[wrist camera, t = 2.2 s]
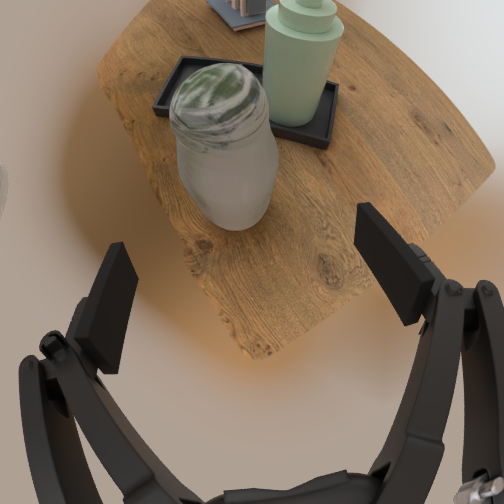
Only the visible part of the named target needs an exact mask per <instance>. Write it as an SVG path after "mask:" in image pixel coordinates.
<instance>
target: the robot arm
mask: <svg viewBox="0 0 504 504" xmlns="http://www.w3.org/2000/svg"><path fill="white" fill-rule="evenodd" d="M354 245H355V247H356V248H357V250H358V251H359V253H360V254H361V256H362V257H363V259H364V260H365V262H366V263H367V265H368V267H369V268H370V270H371V271H372V273H373V274H374V276H375V278H376V279H377V281H378V282H379V284H380V285H381V287H382V289H383V290H384V292H385V293H386V295H387V297H388V298H389V300H390V302H391V303H392V305H393V307H394V309H395V310H396V312H397V314H398V315H399V317H400V319H401V321H402V323H403V324H404V326H408V325H411V324H414V323H417V322H418V321H419V318H420V316H421V314H422V315H423V316H424V318H425V321H424V324H423V326H422V328H421V330H420V332H419V334H420V335H421V336H420V340H419V344H418V348H417V352H416V356H415V360H414V363H413V367H412V370H411V373H410V377H409V380H408V383H407V386H406V389H405V393H404V395H403V398H402V401H401V404H400V407H399V409H398V412H397V415H396V418H395V420H394V423H393V425H392V428H391V430H390V432H389V435H388V437H387V439H386V442H385V444H384V447H383V448H382V450H381V452H380V454H379V455H378V457H377V458H376V460H375V461H374V463H373V465H372V467H371V468H370V471H369V472H368V474H367V475H366V474H361V473H347V470H343V471H339V472H335V473H332V474H328V475H324V476H320V477H316V478H314V479H312V480H310V481H308V482H306V483H303V484H302V485H299V486H297V487H294V488H292V489H290V490H269V489H257V488H250V489H239V490H226V491H224V494H223V495H219V496H217V497H215V498H213V499H211V500H209V501H207V502H206V503H205V502H203V501H202V500H201V499H200V498H199V497H198V496H197V495H196V494H195V493H193V492H192V491H191V490H189V489H188V488H187V487H185V486H184V485H183V484H182V483H181V482H180V481H179V480H178V479H177V478H176V477H175V476H174V475H173V474H172V473H171V472H170V471H169V469H168V468H167V467H166V466H165V465H164V464H163V463H162V462H161V461H160V460H159V458H158V457H157V456H156V455H155V454H154V452H153V451H152V450H151V449H150V448H149V446H148V445H147V444H146V443H145V442H144V440H143V439H142V438H141V437H140V435H139V434H138V433H137V431H136V430H135V429H134V427H133V426H132V425H131V423H130V422H129V421H128V419H127V418H126V417H125V415H124V414H123V412H122V411H121V410H120V408H119V407H118V405H117V404H116V402H115V401H114V399H113V398H112V396H111V395H110V393H109V392H108V390H107V389H106V387H105V386H104V384H103V382H102V381H101V379H100V378H99V377H98V376H97V370H98V368H99V369H100V370H101V371H102V373H103V374H118V370H119V365H120V359H121V353H122V349H123V343H124V339H125V334H126V329H127V324H128V320H129V316H130V312H131V308H132V303H133V299H134V295H135V291H136V287H137V284H138V280H139V278H138V276H137V274H136V272H135V269H134V267H133V265H132V263H131V260H130V258H129V256H128V253H127V251H126V249H125V246H124V244H123V242H117V243H112V244H111V245H110V247H109V249H108V251H107V253H106V256H105V258H104V260H103V262H102V264H101V267H100V269H99V271H98V274H97V276H96V279H95V281H94V283H93V286H92V288H91V291H90V293H89V296H88V297H83V298H82V300H81V301H80V302H79V304H78V305H77V307H76V309H75V312H74V315H73V317H72V321H71V322H70V325H69V328H68V331H67V333H66V337H65V338H64V336H63V335H62V334H61V333H60V332H59V331H56V330H55V331H51V332H49V333H47V334H46V335H45V336H44V337H43V339H42V340H41V342H40V345H39V349H40V351H41V352H42V353H43V355H44V356H45V357H46V359H43V360H40V361H39V360H38V359H37V358H36V357H35V356H34V355H29V356H27V357H25V358H24V359H23V360H22V362H21V363H20V366H19V394H20V408H21V418H22V426H23V434H24V441H25V446H26V452H27V458H28V462H29V467H30V471H31V476H32V480H33V484H34V487H35V491H36V494H37V497H38V501H39V504H103V502H102V500H101V498H100V496H99V493H98V491H97V488H96V485H95V483H94V480H93V478H92V475H91V472H90V469H89V467H88V464H87V461H86V458H85V455H84V451H83V448H82V445H81V442H80V438H79V435H78V431H77V428H76V423H75V419H74V416H75V418H76V420H77V422H78V424H79V426H80V428H81V430H82V432H83V433H84V435H85V437H86V438H87V440H88V442H89V443H90V445H91V447H92V449H93V450H94V452H95V454H96V455H97V457H98V458H99V460H100V462H101V463H102V465H103V466H104V468H105V469H106V470H107V472H108V474H109V475H110V477H111V478H112V479H113V481H114V482H115V484H116V485H117V486H118V487H119V489H120V490H121V492H122V493H123V495H124V498H123V502H124V504H424V502H425V500H426V498H427V496H428V493H429V491H430V489H431V486H432V484H433V481H434V479H435V476H436V474H437V471H438V468H439V466H440V462H441V460H442V457H443V453H444V449H445V448H444V444H443V442H442V437H443V433H444V430H445V426H446V423H447V419H448V415H449V411H450V407H451V402H452V398H453V393H454V389H455V383H456V377H457V371H458V365H459V360H460V352H461V356H462V366H463V379H464V380H463V381H464V405H465V408H464V411H465V412H464V413H465V416H464V446H463V458H462V483H463V485H462V486H461V488H460V489H459V491H458V493H456V495H455V496H454V499H453V501H454V504H504V307H503V304H502V301H501V297H500V295H499V291H498V289H497V288H496V287H495V285H494V284H493V283H491V282H490V281H487V280H480V281H479V282H478V283H477V285H476V288H463V286H462V285H461V284H460V283H458V282H457V281H455V280H451V279H446V278H445V276H444V275H443V274H442V273H441V271H440V270H439V269H438V268H437V267H436V265H435V264H434V263H433V262H431V259H430V258H429V257H427V255H426V254H425V252H424V251H423V250H422V249H421V248H420V247H418V246H417V245H415V244H413V243H411V244H407V243H406V242H405V241H404V239H403V238H402V237H401V236H400V235H399V234H398V233H397V231H396V230H395V229H394V228H393V227H392V226H391V225H390V224H389V223H388V222H387V220H386V219H385V218H384V217H383V216H382V215H381V214H380V213H379V212H378V211H377V210H376V209H375V208H374V207H373V205H372V204H371V203H370V202H366V203H358V204H357V215H356V226H355V236H354Z"/></svg>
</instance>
